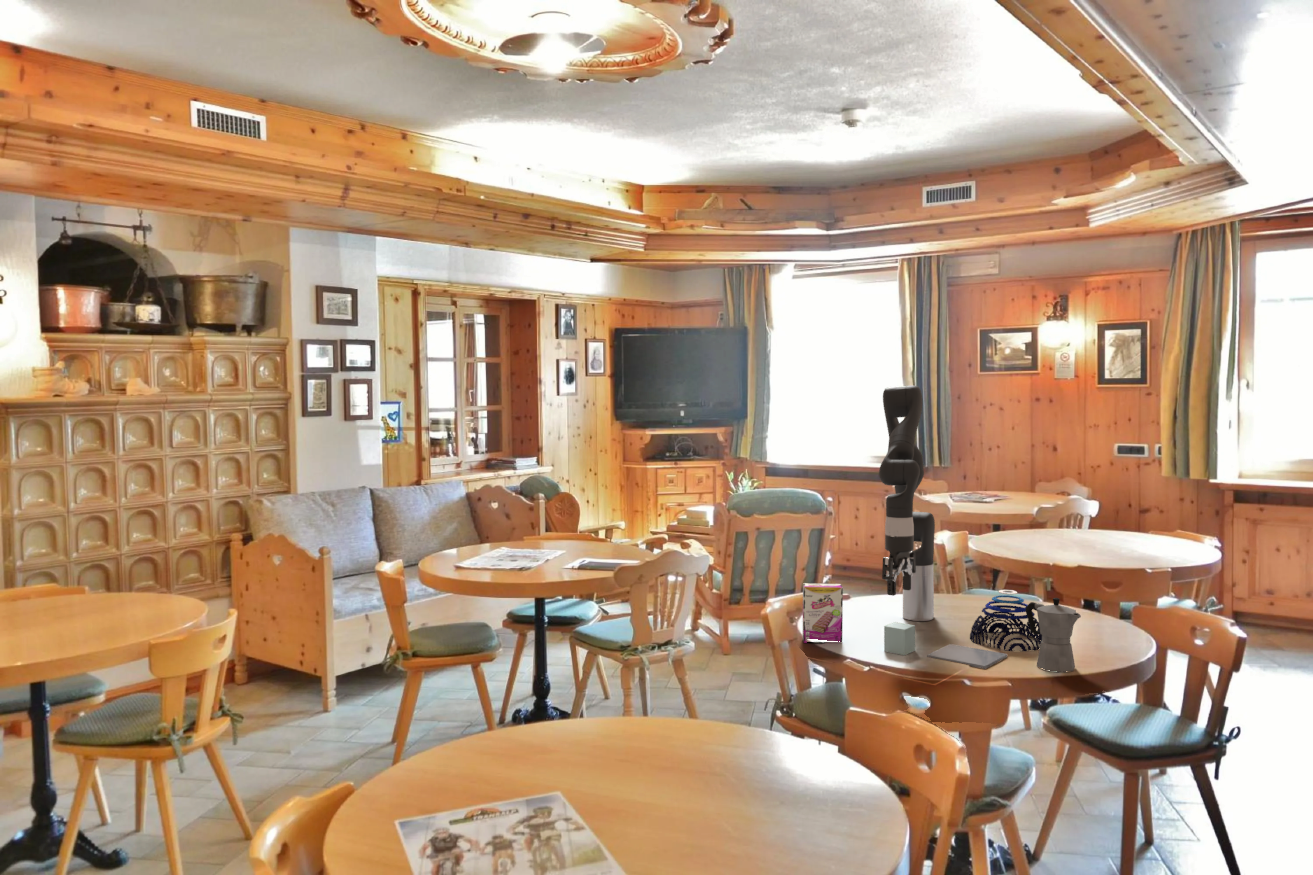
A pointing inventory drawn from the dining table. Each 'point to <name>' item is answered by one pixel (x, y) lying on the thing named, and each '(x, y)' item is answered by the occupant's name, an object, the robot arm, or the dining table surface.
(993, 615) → the decorative bowl
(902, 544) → the robot arm
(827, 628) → the candy bar box
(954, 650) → the slate plate
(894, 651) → the pale green block
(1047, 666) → the coffeepot
